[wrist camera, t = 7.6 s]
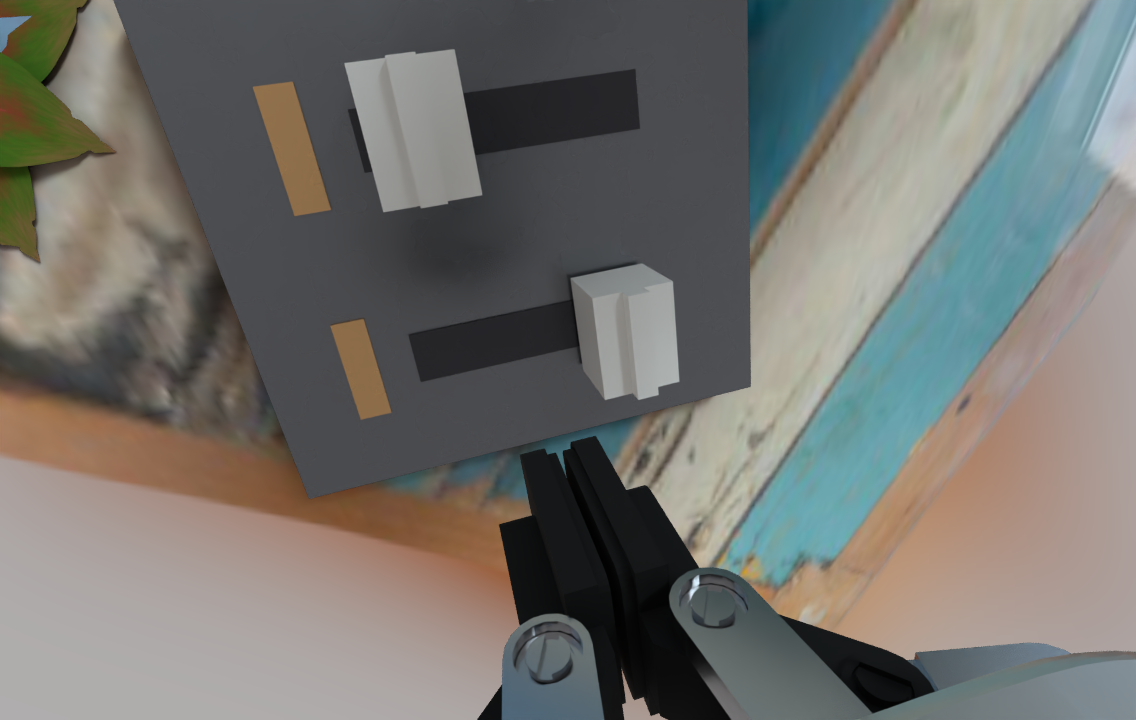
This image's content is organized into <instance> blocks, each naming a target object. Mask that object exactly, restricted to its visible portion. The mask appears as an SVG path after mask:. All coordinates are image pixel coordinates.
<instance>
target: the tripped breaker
mask: <svg viewBox="0 0 1136 720" xmlns="http://www.w3.org/2000/svg"><path fill="white" fill-rule="evenodd" d="M570 279H571V286H572V293H573V300H574V308H575V315H576V322H577V329H578V336H579V344H580V351H581V358H582V365H583V370H584V372H585V373H586V374H587V376H588V377H589V379H590V380H591V381H592V383H593V384H594V386H595V387H596V388H597V390H598V391H599V392H600V394H601V395H602V397H603V398H604V399H605V400H607V399H611V398H615V397H619V396H624V395H628V394H632V393H633V394H634V395H635V397H636V398H637V399H638V400H640V399H644V398H648V397H653V396H657V395H659V393H658V387H660V386H664V385H668V384H672V383H676V382H679V369H678V353H677V338H676V322H675V307H674V291H673V281H672V280H670V279H668V278H666V277H665V276H663V275H661V274H659V273H658V272H656V271H654V270H653V269H651V268H649V267H647V266H646V265H644V264H637V265H632V266H627V267H622V268H617V269H612V270H608V271H603V272H598V273H593V274H588V275H583V276H578V277H573V278H570Z"/></svg>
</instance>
